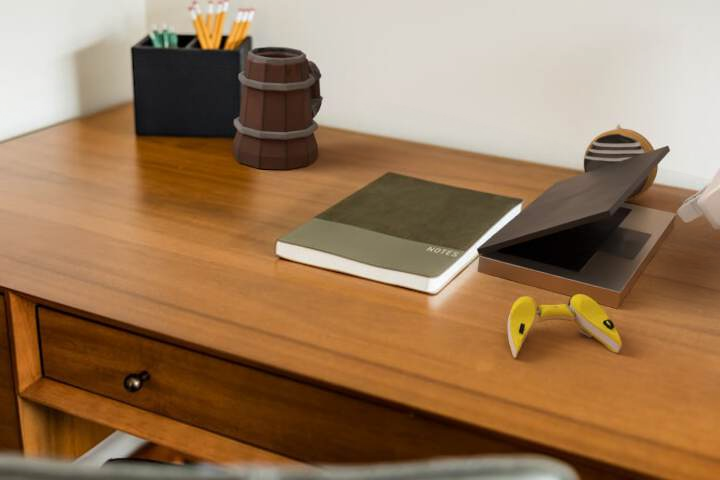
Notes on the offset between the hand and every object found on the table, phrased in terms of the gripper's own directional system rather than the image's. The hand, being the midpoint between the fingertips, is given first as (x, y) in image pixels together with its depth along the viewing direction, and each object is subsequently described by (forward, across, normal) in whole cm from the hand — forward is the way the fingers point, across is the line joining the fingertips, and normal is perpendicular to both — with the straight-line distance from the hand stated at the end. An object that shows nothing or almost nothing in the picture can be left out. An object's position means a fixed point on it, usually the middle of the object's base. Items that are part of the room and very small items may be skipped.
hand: (683, 213), depth 96 cm
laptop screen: (+9, 0, -7) cm, 11 cm away
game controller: (+9, +23, +1) cm, 24 cm away
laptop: (+12, 0, -2) cm, 12 cm away
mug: (+45, -8, -35) cm, 58 cm away
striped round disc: (+13, -19, -3) cm, 23 cm away
